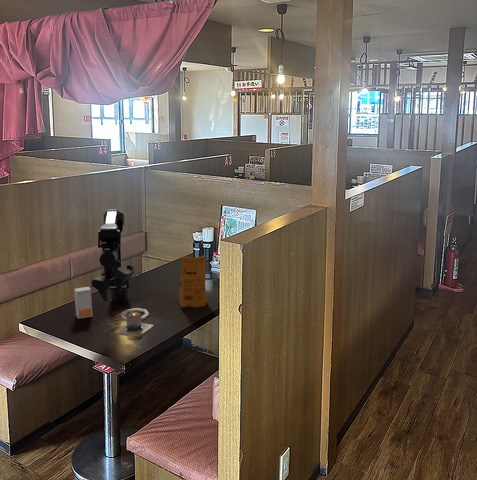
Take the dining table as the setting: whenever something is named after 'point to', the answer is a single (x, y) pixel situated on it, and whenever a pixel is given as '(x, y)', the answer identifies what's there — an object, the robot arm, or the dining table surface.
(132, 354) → the dining table surface
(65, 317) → the dining table surface
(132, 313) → the round spotlight head
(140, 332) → the coaster board
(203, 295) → the coffee package
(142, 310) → the collar
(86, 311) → the skincare box
